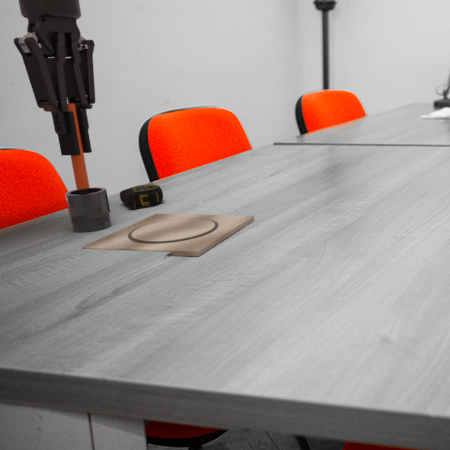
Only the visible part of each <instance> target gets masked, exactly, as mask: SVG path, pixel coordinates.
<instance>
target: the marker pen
mask: <svg viewBox="0 0 450 450" xmlns="http://www.w3.org/2000/svg"><path fill="white" fill-rule="evenodd" d="M67 104H68V110H67V111H73V114H74V120H75V125H76V131H77V136H78V142H79V148H80V153H81V155H77V156H73V155H70V160H71V166H72V171H73V176H74V182H75V188H76V190H77V189H79V190H80V194H88V192H87V189H88V188H90V182H89V176H88V171H87V165H86V160H85V159H86V158H85V153H83V147H82V141H81V136H80V130H79V124H78V119H77V113H76V107H75V104H74V103H68V102H67Z"/></svg>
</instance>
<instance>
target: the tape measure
mask: <svg viewBox="0 0 450 450" xmlns="http://www.w3.org/2000/svg"><path fill="white" fill-rule="evenodd" d="M119 198H120V199H119V200H120V201H121V202H122V204H124V205H126V206H127V207H128V208H129V209H131V210H137V209H143V208H144V209H145V208H150V207H155V206H158V205H160V204H161V203H162V202H163V199H164V193H163V190H162V188H161V186H160V185H158V184H154V183H153V184H151V183H150V184H149V183H148V184H139V185H135V186H132V187H131V186H130V187H129V188H126V189H123V190H120V192H119Z"/></svg>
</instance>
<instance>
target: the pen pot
mask: <svg viewBox="0 0 450 450" xmlns="http://www.w3.org/2000/svg"><path fill="white" fill-rule="evenodd" d="M87 192H88V194H80V190H79V189H77V188H76V189H73V190H72V189H71V190H70V191H66V193H64V196H65V200H66V201H65V202H66V206H67V210H68V216H69V220H70V225H71V231H73V232H74V233H77V234H78V233H79V234H80V233H82V234H83V233H85V234H87V233H95V232H100V231H103V230H104V231H105V230H106V229H109V228H111V227H112V226H113V220H112V214H111V209H110V203H109V202H110V201H109V198H108V193H107V188H106V187H99V186H97V187H95V186H94V187H89V188H88V189H87Z"/></svg>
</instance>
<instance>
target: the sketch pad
mask: <svg viewBox="0 0 450 450" xmlns="http://www.w3.org/2000/svg"><path fill="white" fill-rule="evenodd" d="M254 221H255V216H254V215H238V214H237V215H236V214H235V215H232V214H191V213H190V214H187V213H186V214H184V213H154V214H152V215H150V216H148V217H145V218H143V219H141V220H139V221H136V222H135V223H132V224H130V225H127V226H125V227H124V228H121V229H119V230H117V231H115V232H112V233H110V234H107V235H105V236H103V237H101V238H99V239H97V240H95V241H91V242H90V243H88V244H86V245H83V246H82V247H81V250H99V251H100V250H102V251H103V250H104V251H130V252H131V251H133V252H158V253H159V252H160V253H161V252H162V253H167V254H166V256H171V257H172V256H174V257H197V258H199V257H200V256H202V255H203V254H205V253H207V252H208V251H209V250H210V249H212V248H214V247H215V246H217V245H218V244H220V243H221V242H223V241H225V240H226V239H228V238H230V237H231V236H233V235H234V234H236V233H237V232H238V231H240V230H242V229H243V228H245V227H246V226H248V225H249V224H251V223H252V222H254Z"/></svg>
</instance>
